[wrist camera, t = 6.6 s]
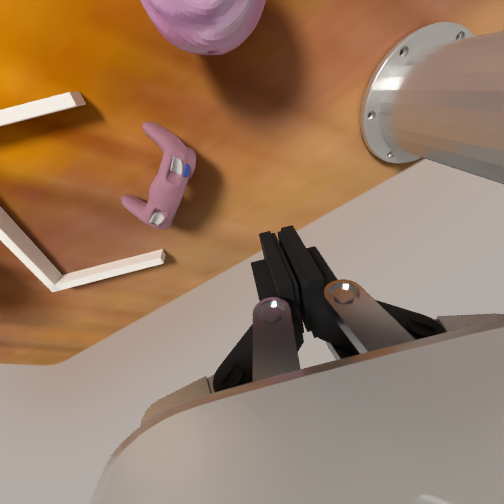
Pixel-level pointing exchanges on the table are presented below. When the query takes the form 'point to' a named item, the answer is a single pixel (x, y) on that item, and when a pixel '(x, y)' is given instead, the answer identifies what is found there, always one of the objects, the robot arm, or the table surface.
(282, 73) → the table surface
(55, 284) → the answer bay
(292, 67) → the table surface
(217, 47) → the cupcake
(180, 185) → the video game controller
